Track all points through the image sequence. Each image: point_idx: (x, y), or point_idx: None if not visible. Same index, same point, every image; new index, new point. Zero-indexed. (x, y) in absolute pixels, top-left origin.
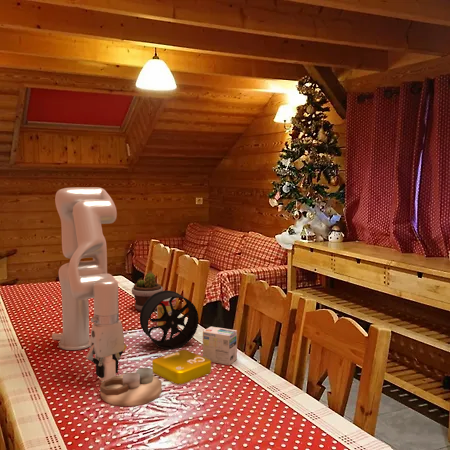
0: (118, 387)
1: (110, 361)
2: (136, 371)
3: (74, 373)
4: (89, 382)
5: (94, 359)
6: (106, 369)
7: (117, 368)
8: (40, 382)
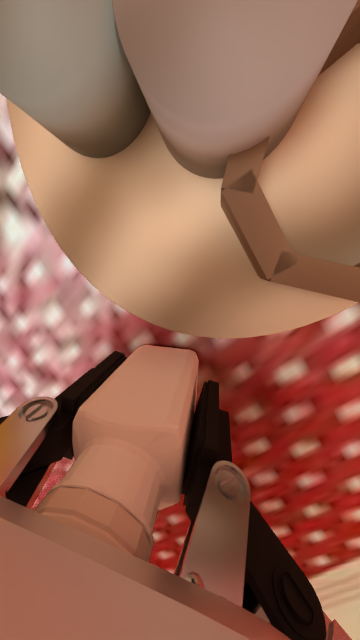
0: (311, 165)
1: (124, 436)
2: (82, 47)
3: None
4: (236, 419)
5: (310, 637)
6: (187, 401)
7: (105, 363)
8: (328, 565)
